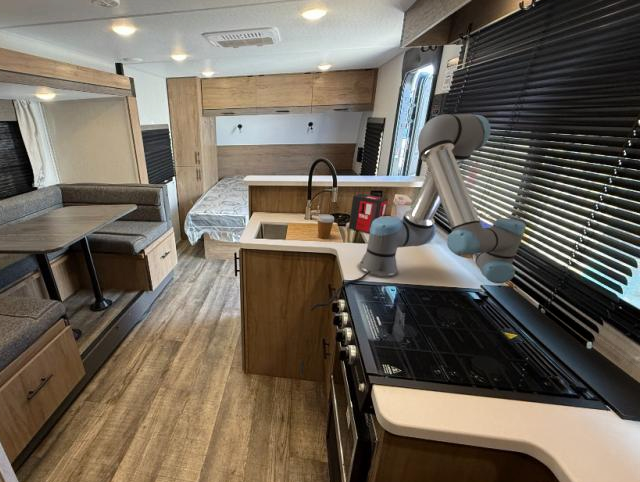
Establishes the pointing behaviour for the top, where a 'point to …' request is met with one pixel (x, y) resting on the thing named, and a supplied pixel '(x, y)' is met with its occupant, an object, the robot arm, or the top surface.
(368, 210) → the cleaning product box
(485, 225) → the jar lid
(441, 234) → the top surface
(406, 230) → the robot arm
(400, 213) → the coffeecake box
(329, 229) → the disposable coffee cup
